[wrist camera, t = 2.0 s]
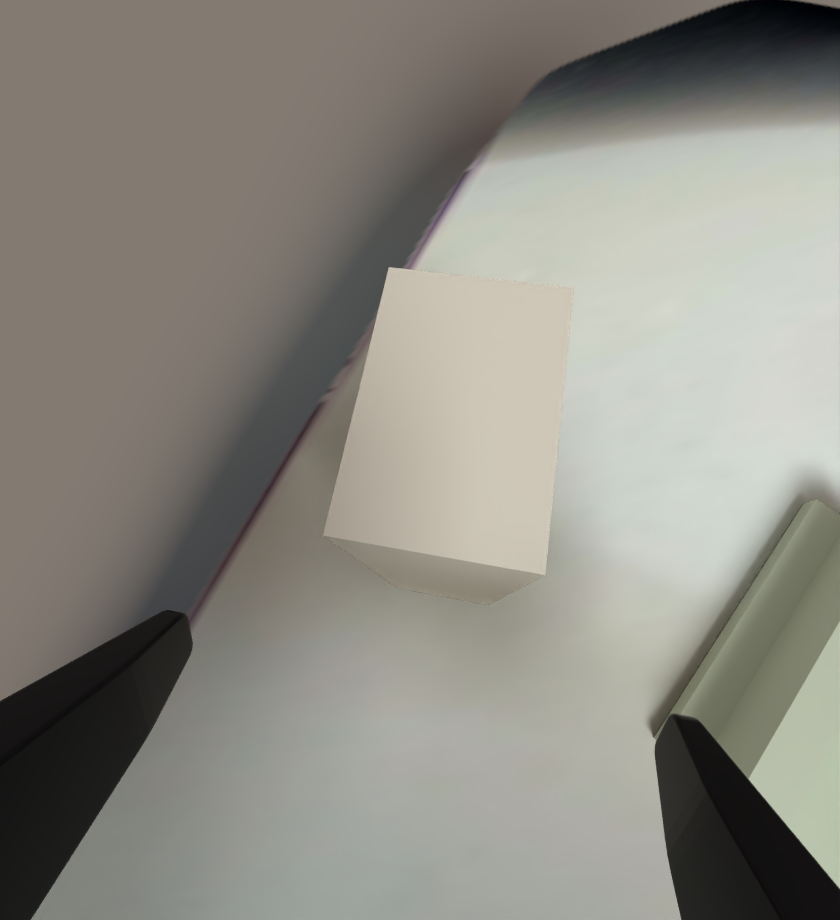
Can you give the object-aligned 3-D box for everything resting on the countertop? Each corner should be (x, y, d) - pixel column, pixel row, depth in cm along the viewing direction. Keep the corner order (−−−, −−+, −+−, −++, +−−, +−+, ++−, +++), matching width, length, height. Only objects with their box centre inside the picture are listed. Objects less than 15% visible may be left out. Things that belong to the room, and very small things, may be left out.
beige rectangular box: (488, 604, 21) (545, 574, 8) (396, 587, 21) (322, 535, 9) (506, 472, 22) (574, 287, 10) (421, 459, 23) (389, 267, 11)
